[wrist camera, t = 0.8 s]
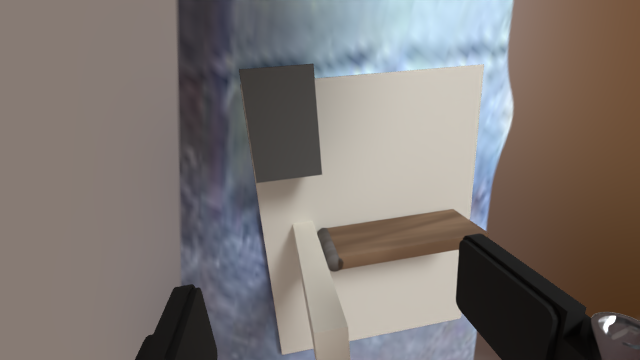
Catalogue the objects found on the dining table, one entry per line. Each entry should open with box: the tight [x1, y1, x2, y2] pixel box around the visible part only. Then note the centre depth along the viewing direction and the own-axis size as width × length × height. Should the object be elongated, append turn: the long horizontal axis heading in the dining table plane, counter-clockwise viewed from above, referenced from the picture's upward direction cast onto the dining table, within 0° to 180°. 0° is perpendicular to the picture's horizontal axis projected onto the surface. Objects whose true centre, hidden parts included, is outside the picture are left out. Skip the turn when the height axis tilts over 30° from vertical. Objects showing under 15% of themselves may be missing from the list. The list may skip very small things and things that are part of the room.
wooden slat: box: [317, 209, 488, 272], centre depth 29 cm, size 1×15×6 cm, turn 95°
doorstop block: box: [239, 64, 322, 183], centre depth 24 cm, size 8×5×6 cm, turn 5°
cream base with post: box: [240, 64, 484, 360], centre depth 26 cm, size 30×22×15 cm
